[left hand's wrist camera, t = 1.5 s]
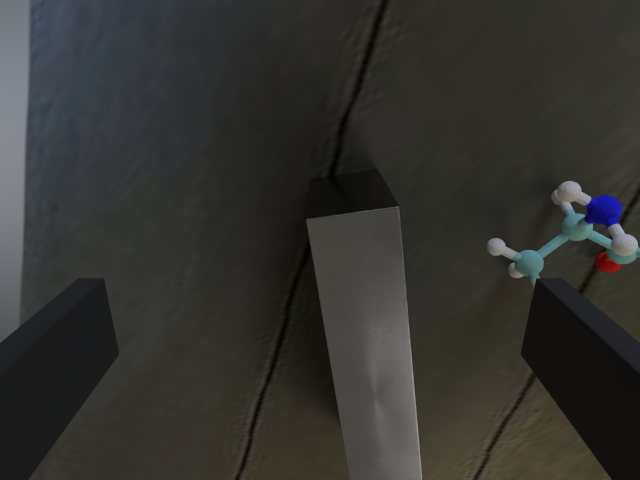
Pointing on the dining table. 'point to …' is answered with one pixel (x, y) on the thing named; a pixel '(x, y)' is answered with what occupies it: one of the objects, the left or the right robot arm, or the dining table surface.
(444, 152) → the dining table surface
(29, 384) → the left robot arm
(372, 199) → the bar
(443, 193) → the dining table surface
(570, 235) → the molecular model
